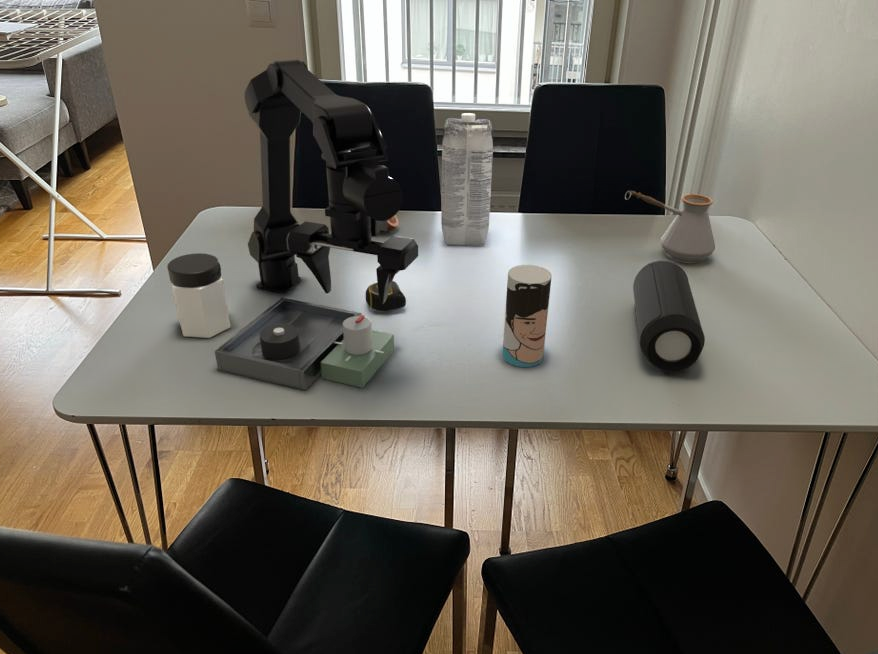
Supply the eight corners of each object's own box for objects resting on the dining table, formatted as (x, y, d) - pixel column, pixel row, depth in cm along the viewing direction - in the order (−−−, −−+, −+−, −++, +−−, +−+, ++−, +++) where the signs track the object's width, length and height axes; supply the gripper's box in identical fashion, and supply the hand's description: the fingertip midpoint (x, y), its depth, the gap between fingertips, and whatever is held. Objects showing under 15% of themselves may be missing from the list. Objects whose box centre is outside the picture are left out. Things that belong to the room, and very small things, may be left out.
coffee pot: (699, 244, 159) (713, 179, 151) (721, 266, 149) (738, 198, 141) (608, 247, 156) (617, 181, 148) (624, 269, 147) (636, 199, 139)
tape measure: (407, 312, 128) (406, 294, 126) (370, 317, 126) (369, 298, 124) (398, 296, 134) (398, 278, 132) (362, 300, 132) (361, 282, 130)
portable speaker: (699, 380, 112) (713, 325, 107) (636, 373, 113) (646, 319, 108) (681, 306, 133) (691, 257, 128) (628, 301, 134) (636, 253, 129)
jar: (234, 333, 120) (223, 269, 114) (184, 343, 117) (170, 278, 111) (225, 310, 127) (214, 248, 121) (177, 319, 124) (163, 256, 117)
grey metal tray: (217, 370, 111) (214, 351, 109) (284, 314, 126) (281, 297, 125) (305, 390, 107) (303, 371, 105) (362, 330, 122) (361, 312, 120)
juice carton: (488, 248, 154) (494, 122, 140) (440, 246, 154) (441, 120, 140) (487, 232, 162) (493, 111, 147) (442, 231, 162) (443, 109, 147)
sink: (225, 368, 111) (223, 357, 110) (285, 317, 126) (284, 307, 125) (303, 386, 107) (302, 375, 106) (356, 331, 122) (355, 321, 121)
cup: (508, 369, 113) (515, 285, 105) (497, 347, 119) (503, 266, 111) (548, 364, 115) (557, 281, 107) (535, 343, 120) (543, 263, 112)
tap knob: (365, 357, 109) (363, 330, 107) (339, 351, 111) (337, 325, 108) (377, 343, 113) (375, 317, 110) (352, 338, 114) (350, 312, 112)
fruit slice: (395, 238, 158) (394, 216, 155) (365, 236, 158) (364, 215, 155) (400, 224, 165) (400, 203, 162) (372, 222, 165) (371, 202, 162)
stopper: (255, 363, 112) (251, 335, 109) (276, 345, 117) (272, 317, 114) (288, 371, 110) (285, 342, 107) (308, 352, 115) (305, 324, 112)
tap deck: (317, 377, 110) (315, 360, 108) (352, 340, 119) (351, 324, 118) (367, 389, 107) (366, 371, 106) (399, 350, 117) (398, 334, 115)
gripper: (432, 189, 103) (431, 286, 111) (318, 173, 108) (326, 266, 116) (402, 214, 94) (404, 317, 102) (279, 195, 99) (290, 295, 107)
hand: (355, 297), depth 107 cm, fingers open, 9 cm apart
